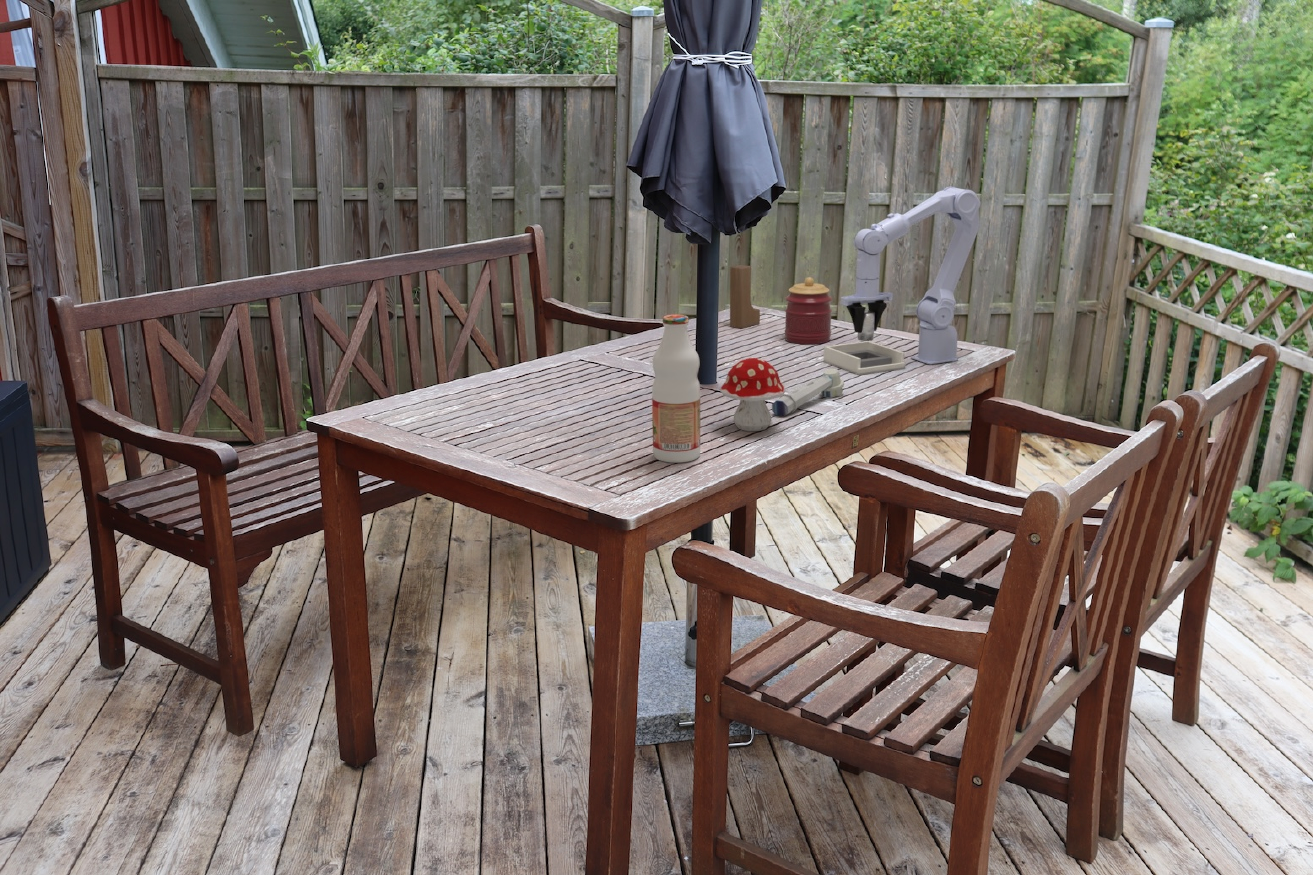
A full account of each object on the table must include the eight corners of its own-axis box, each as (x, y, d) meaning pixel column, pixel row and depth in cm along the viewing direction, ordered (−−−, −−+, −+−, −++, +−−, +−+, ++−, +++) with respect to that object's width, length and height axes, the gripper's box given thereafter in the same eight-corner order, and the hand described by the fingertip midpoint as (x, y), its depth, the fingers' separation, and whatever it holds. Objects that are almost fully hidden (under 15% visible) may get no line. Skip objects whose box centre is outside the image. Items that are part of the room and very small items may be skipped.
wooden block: (748, 322, 353) (749, 262, 348) (760, 324, 350) (761, 264, 345) (729, 327, 347) (729, 266, 342) (741, 329, 344) (741, 267, 339)
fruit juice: (675, 467, 225) (674, 323, 217) (643, 456, 232) (640, 316, 224) (710, 456, 232) (710, 316, 223) (677, 445, 238) (676, 309, 230)
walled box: (868, 355, 310) (868, 340, 309) (905, 368, 297) (906, 353, 295) (823, 361, 305) (823, 346, 303) (859, 375, 291) (859, 359, 290)
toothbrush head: (768, 398, 258) (828, 361, 275) (770, 425, 261) (829, 387, 278) (788, 402, 255) (847, 364, 272) (790, 430, 257) (848, 391, 275)
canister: (786, 345, 324) (787, 281, 318) (782, 334, 336) (784, 273, 331) (833, 344, 323) (835, 281, 318) (828, 334, 336) (830, 273, 330)
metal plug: (867, 336, 301) (868, 309, 299) (876, 339, 297) (878, 312, 295) (854, 338, 299) (855, 311, 297) (863, 341, 296) (865, 314, 293)
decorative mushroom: (764, 440, 241) (765, 369, 236) (707, 430, 248) (707, 361, 244) (796, 424, 251) (798, 356, 247) (741, 414, 259) (741, 348, 255)
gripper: (881, 273, 300) (879, 325, 304) (834, 277, 294) (832, 331, 298) (898, 277, 294) (896, 330, 298) (850, 282, 288) (848, 336, 292)
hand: (865, 331), depth 298 cm, fingers closed on metal plug, 4 cm apart
